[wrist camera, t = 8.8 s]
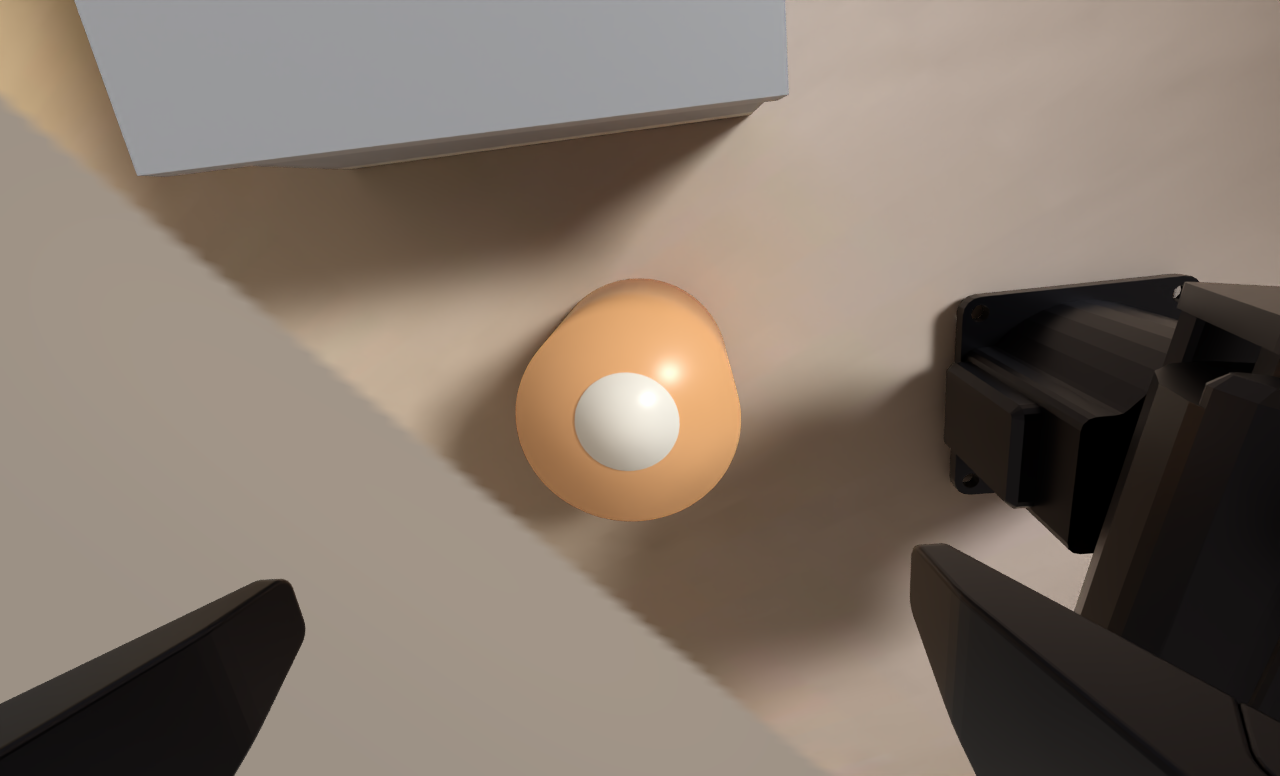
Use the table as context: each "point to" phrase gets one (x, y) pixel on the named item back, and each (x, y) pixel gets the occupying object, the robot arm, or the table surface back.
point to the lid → (412, 71)
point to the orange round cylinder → (631, 403)
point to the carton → (514, 139)
